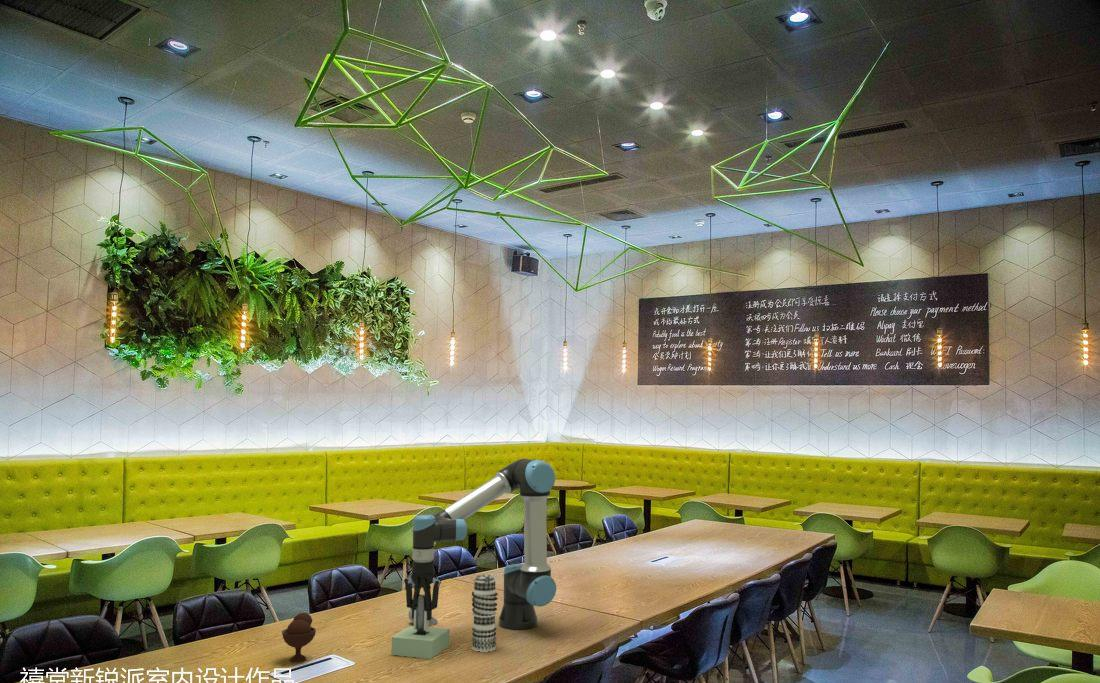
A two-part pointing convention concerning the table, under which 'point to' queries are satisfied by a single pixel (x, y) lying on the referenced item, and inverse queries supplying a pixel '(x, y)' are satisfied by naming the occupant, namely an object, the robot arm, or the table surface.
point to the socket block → (420, 642)
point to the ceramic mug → (432, 621)
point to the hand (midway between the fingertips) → (421, 628)
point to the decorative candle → (484, 613)
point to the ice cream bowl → (299, 635)
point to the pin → (421, 614)
